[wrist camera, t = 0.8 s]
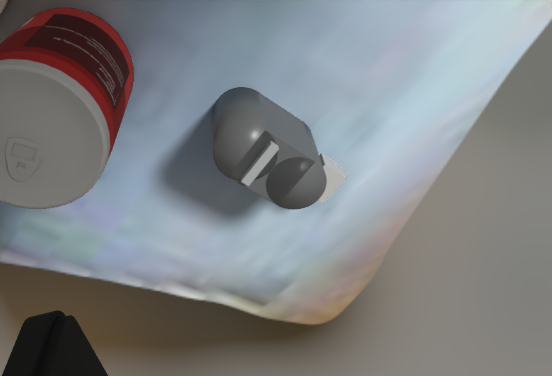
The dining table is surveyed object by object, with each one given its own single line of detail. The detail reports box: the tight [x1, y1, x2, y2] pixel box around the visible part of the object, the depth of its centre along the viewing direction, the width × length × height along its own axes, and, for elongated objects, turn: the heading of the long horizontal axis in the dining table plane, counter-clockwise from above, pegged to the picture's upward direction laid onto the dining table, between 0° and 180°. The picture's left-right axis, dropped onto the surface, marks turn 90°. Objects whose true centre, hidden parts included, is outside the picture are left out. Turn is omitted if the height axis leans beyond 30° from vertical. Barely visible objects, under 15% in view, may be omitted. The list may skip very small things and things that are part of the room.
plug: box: [214, 87, 346, 209], centre depth 36 cm, size 10×4×6 cm, turn 54°
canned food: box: [0, 8, 134, 209], centre depth 30 cm, size 8×8×11 cm
